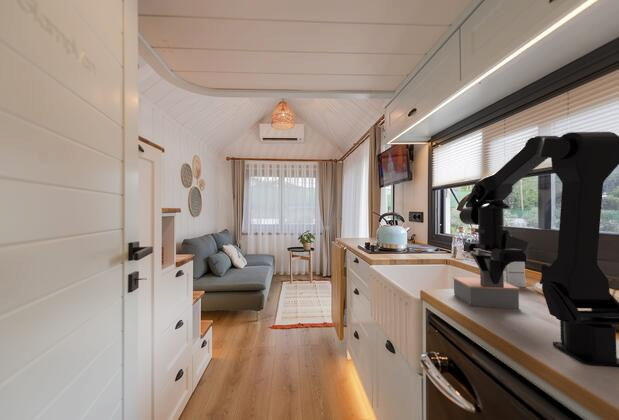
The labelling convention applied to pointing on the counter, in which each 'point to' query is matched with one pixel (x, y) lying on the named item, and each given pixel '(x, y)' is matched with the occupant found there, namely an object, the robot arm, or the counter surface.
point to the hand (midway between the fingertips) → (491, 282)
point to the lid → (485, 282)
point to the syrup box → (515, 274)
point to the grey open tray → (487, 296)
